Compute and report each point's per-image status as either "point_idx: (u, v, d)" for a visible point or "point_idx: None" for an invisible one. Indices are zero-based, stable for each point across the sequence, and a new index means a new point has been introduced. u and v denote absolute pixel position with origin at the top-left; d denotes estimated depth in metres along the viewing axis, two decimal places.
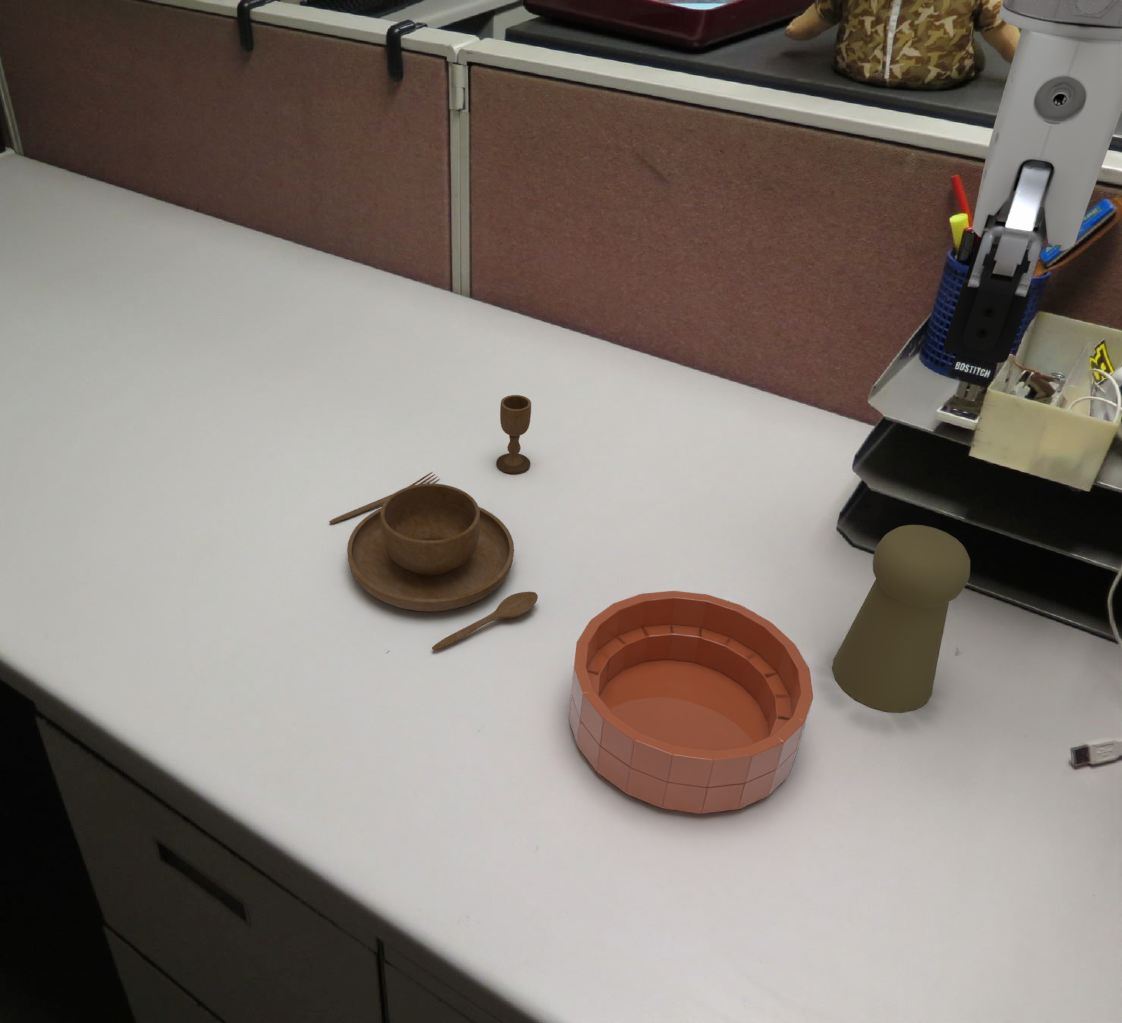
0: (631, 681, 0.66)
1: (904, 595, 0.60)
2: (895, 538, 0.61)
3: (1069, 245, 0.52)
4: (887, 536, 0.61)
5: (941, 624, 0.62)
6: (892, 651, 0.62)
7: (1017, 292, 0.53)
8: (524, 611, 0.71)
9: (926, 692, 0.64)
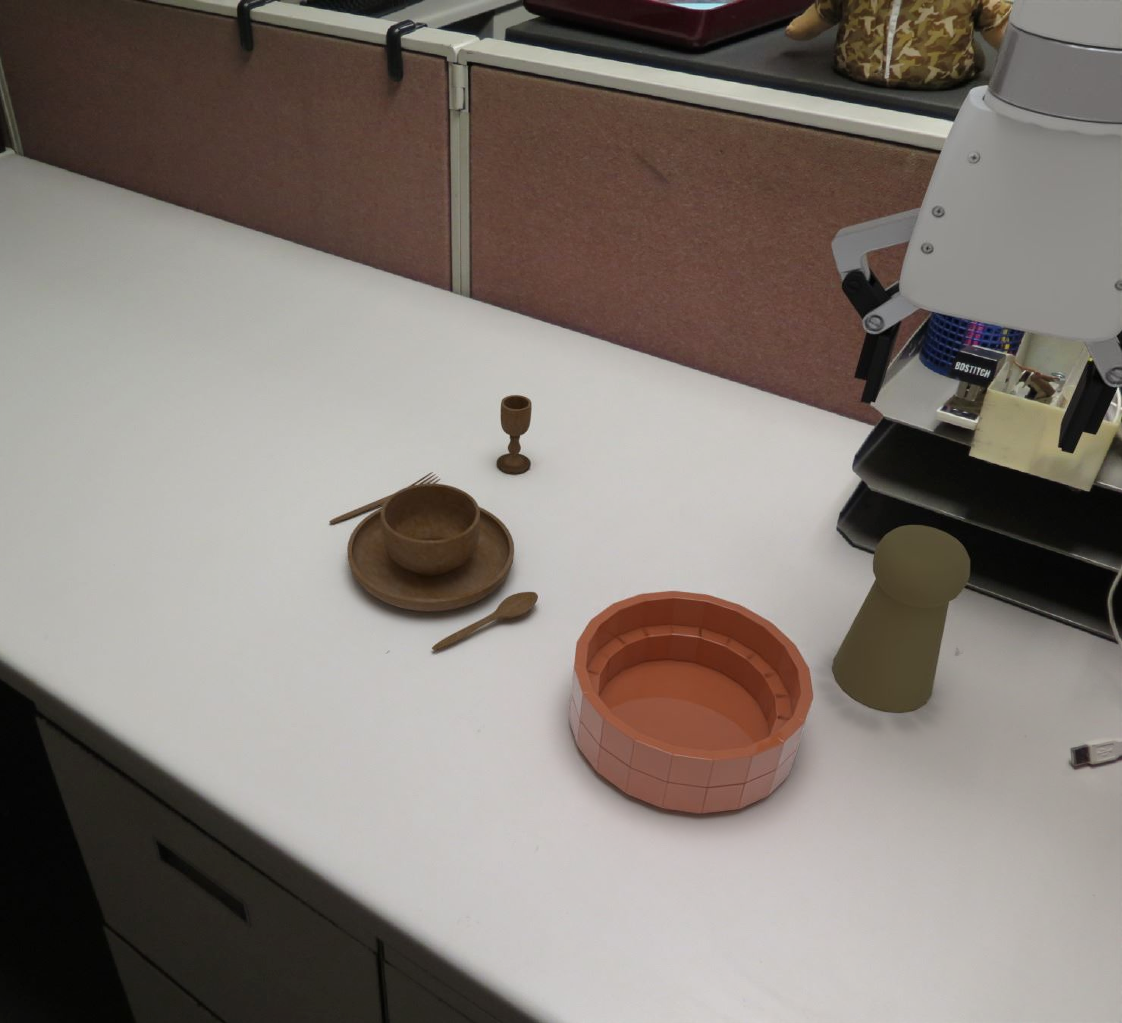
0: (631, 681, 0.66)
1: (904, 595, 0.60)
2: (895, 538, 0.61)
3: None
4: (887, 536, 0.61)
5: (941, 624, 0.62)
6: (892, 651, 0.62)
7: None
8: (524, 611, 0.71)
9: (926, 692, 0.64)
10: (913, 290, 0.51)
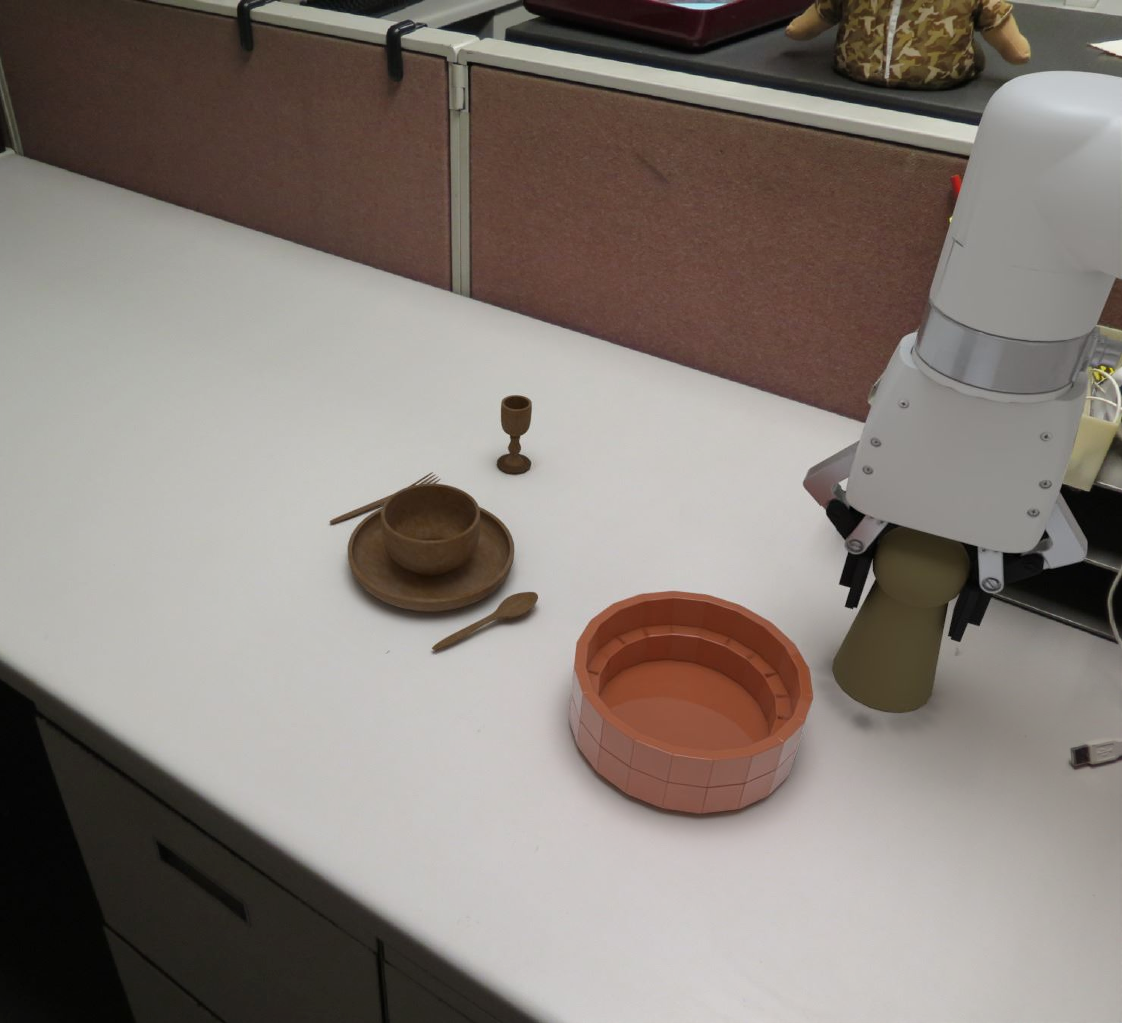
0: (631, 681, 0.66)
1: (904, 595, 0.60)
2: (895, 538, 0.61)
3: None
4: (887, 536, 0.61)
5: (941, 624, 0.62)
6: (891, 650, 0.62)
7: None
8: (524, 611, 0.71)
9: (926, 692, 0.64)
10: (857, 501, 0.59)
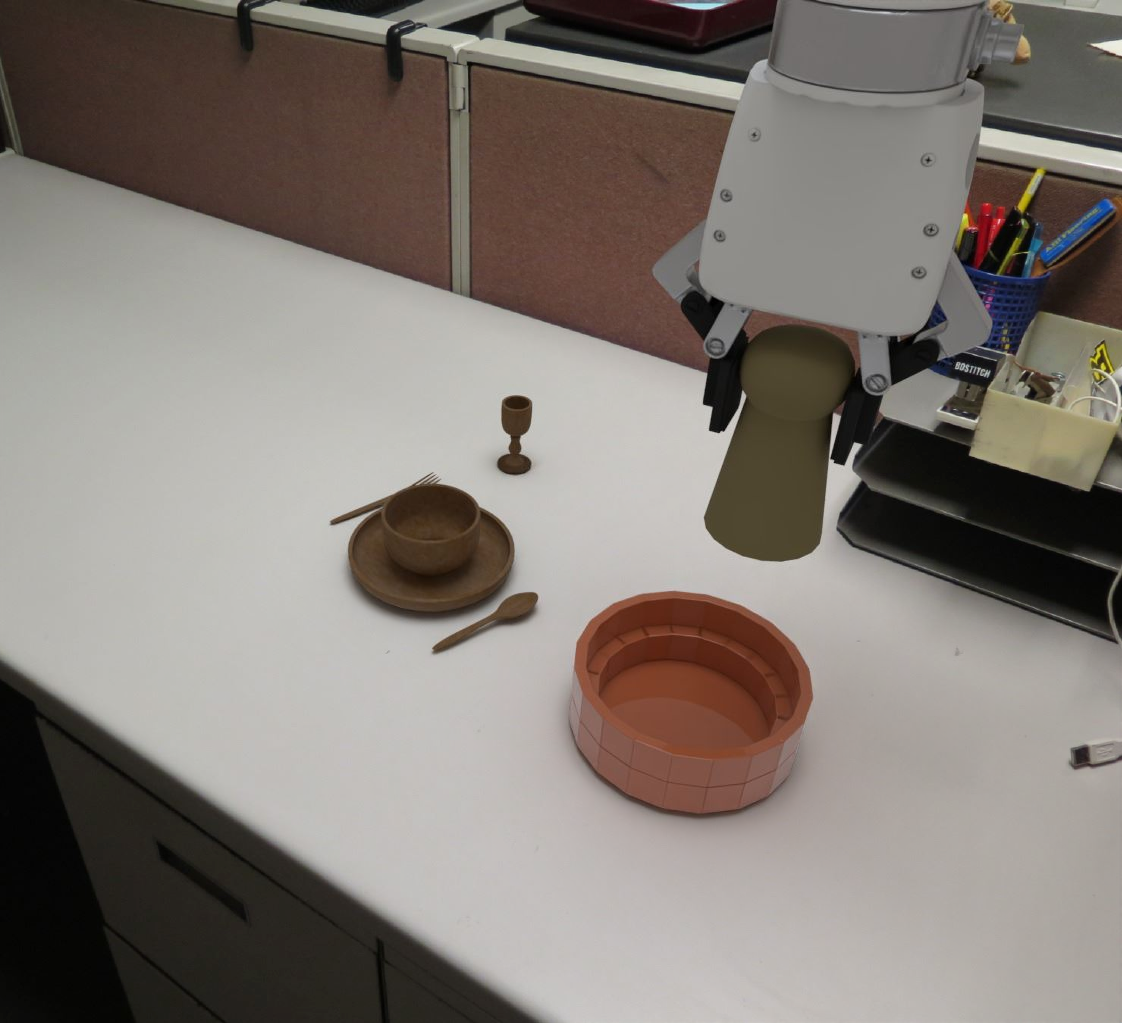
0: (631, 681, 0.66)
1: (772, 403, 0.48)
2: (764, 336, 0.49)
3: None
4: (755, 336, 0.50)
5: (823, 446, 0.50)
6: (764, 481, 0.51)
7: None
8: (524, 611, 0.71)
9: (811, 537, 0.53)
10: (711, 282, 0.47)
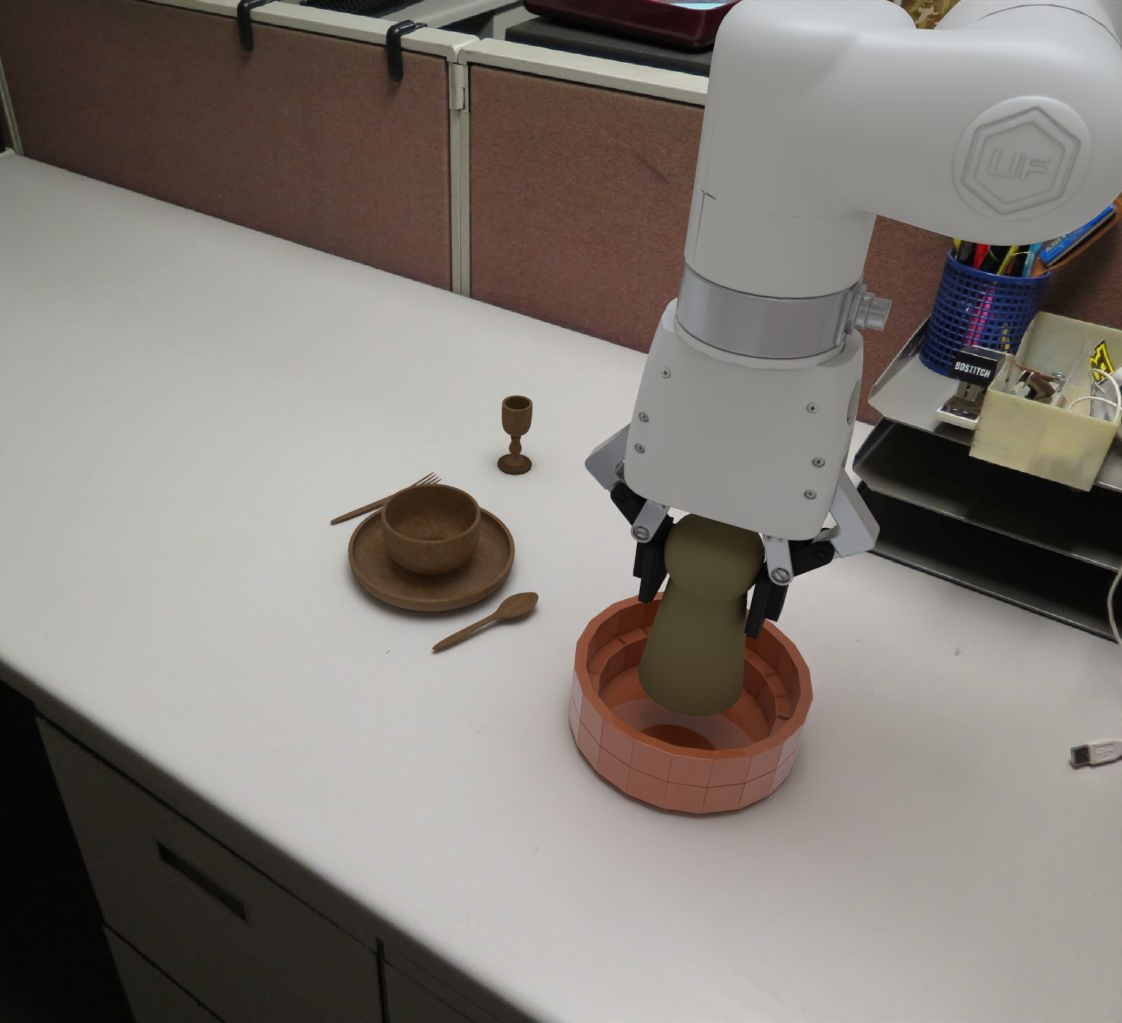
0: (631, 681, 0.66)
1: (690, 587, 0.54)
2: (684, 525, 0.55)
3: None
4: (677, 522, 0.56)
5: (738, 619, 0.56)
6: (686, 649, 0.57)
7: None
8: (525, 611, 0.71)
9: (731, 694, 0.59)
10: (634, 483, 0.53)
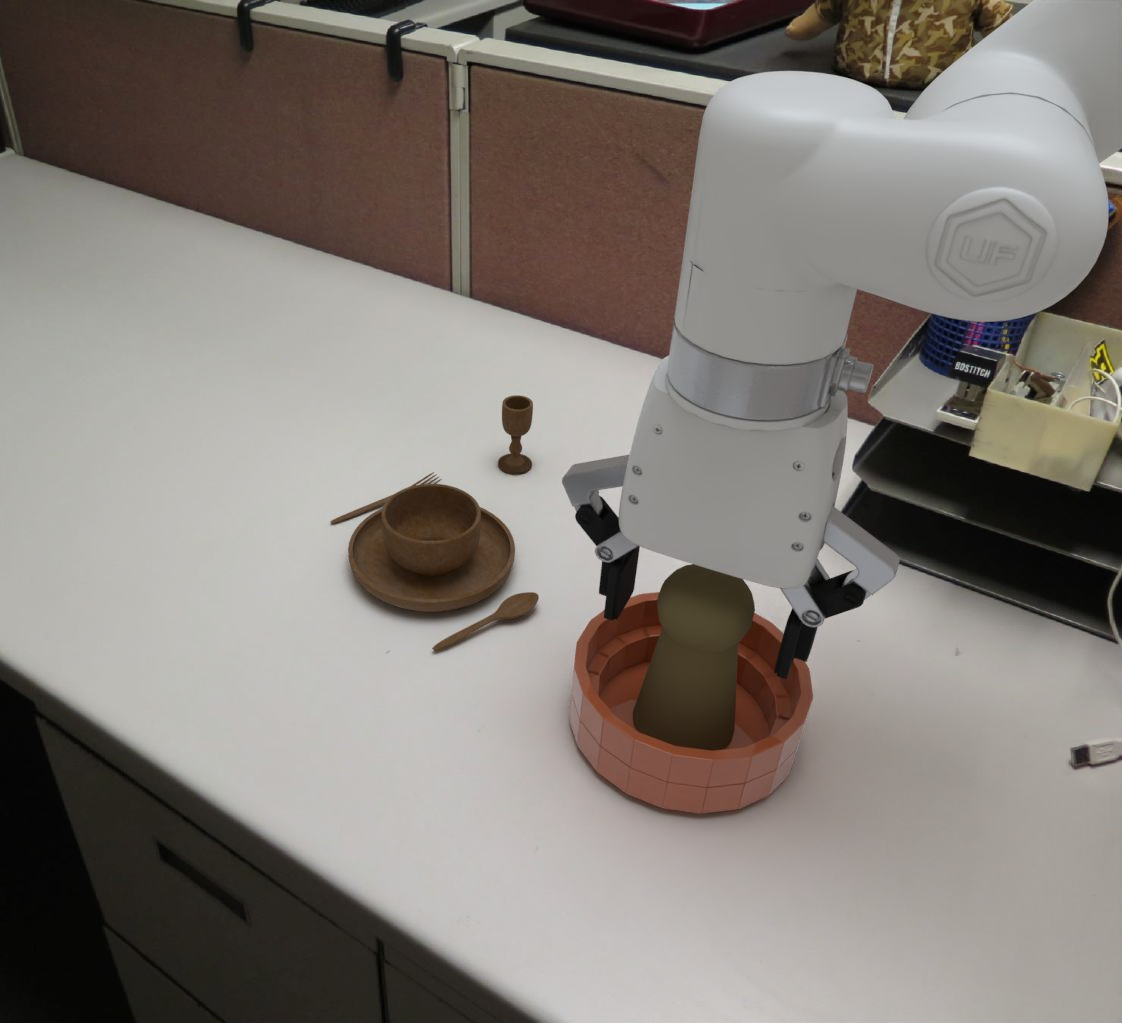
0: (631, 681, 0.66)
1: (683, 639, 0.56)
2: (676, 579, 0.57)
3: None
4: (670, 576, 0.58)
5: (729, 669, 0.58)
6: (679, 696, 0.59)
7: None
8: (525, 612, 0.71)
9: (722, 739, 0.61)
10: (629, 532, 0.55)
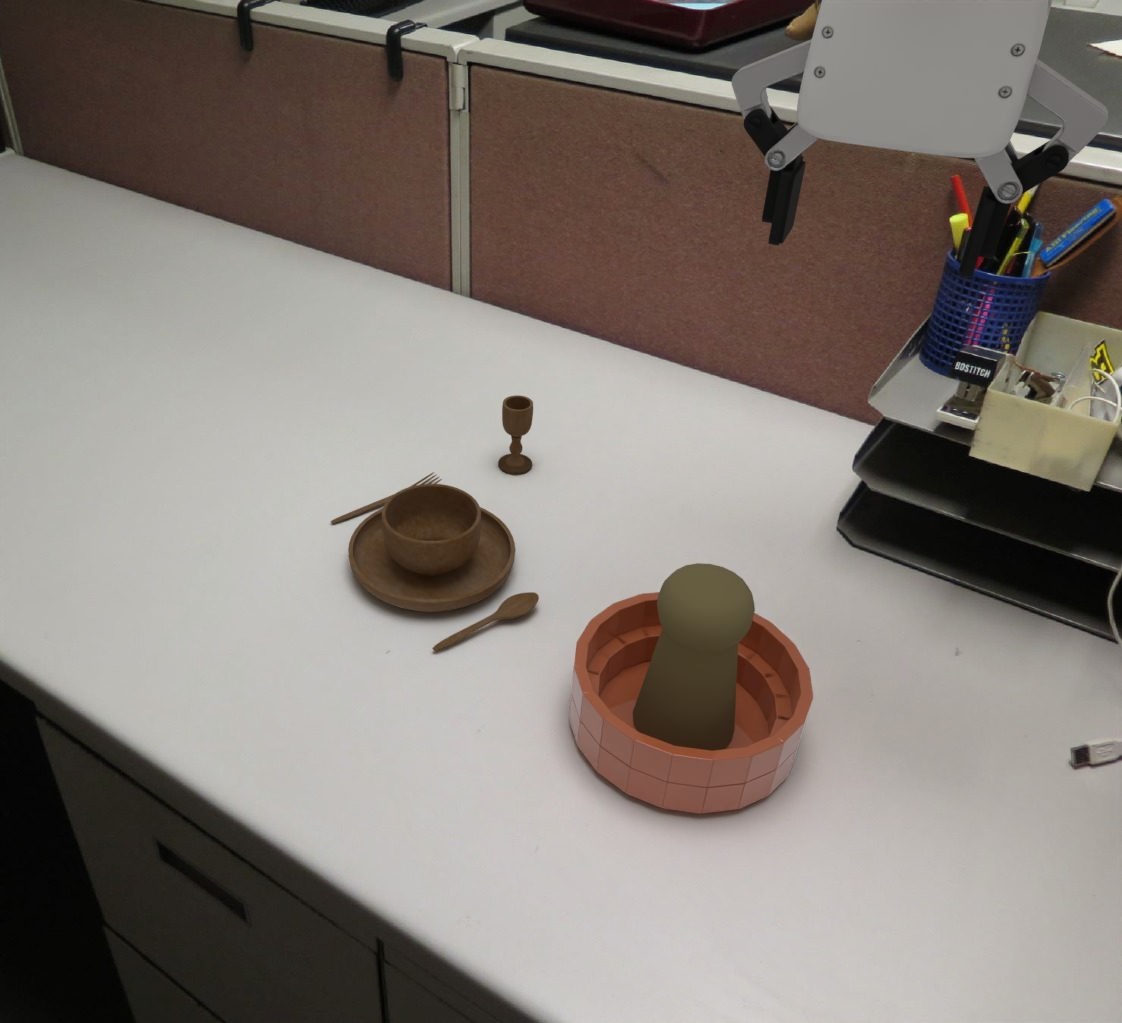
0: (631, 681, 0.66)
1: (683, 639, 0.56)
2: (676, 579, 0.57)
3: None
4: (670, 576, 0.58)
5: (729, 669, 0.58)
6: (679, 696, 0.59)
7: None
8: (525, 612, 0.71)
9: (722, 739, 0.61)
10: (809, 118, 0.52)
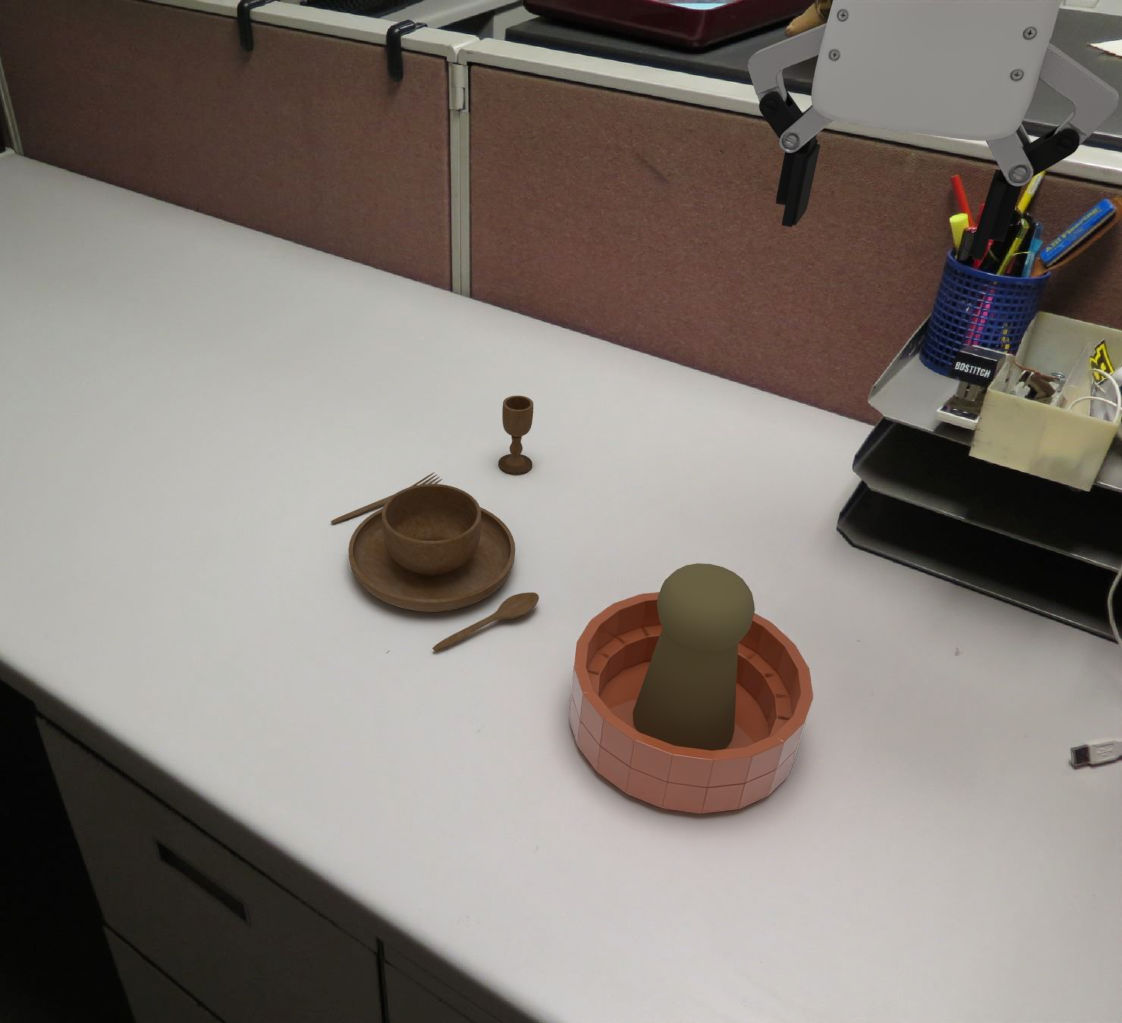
0: (631, 681, 0.66)
1: (683, 639, 0.56)
2: (676, 579, 0.57)
3: None
4: (670, 576, 0.58)
5: (729, 669, 0.58)
6: (679, 696, 0.59)
7: None
8: (525, 612, 0.71)
9: (722, 739, 0.61)
10: (824, 100, 0.53)
